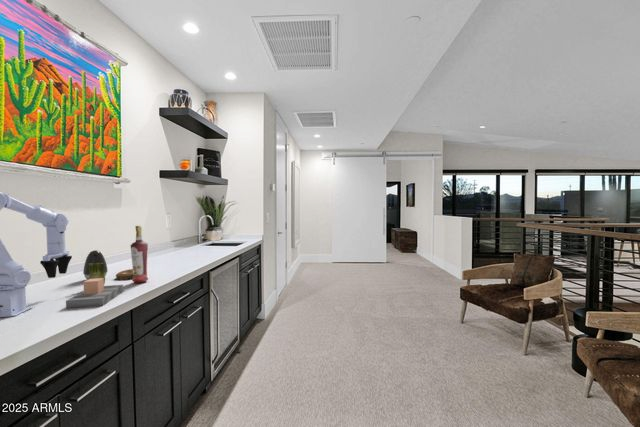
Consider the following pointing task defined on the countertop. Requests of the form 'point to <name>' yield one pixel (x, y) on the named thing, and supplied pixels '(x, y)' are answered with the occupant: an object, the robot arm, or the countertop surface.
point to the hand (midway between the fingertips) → (57, 275)
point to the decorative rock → (125, 274)
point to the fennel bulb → (98, 274)
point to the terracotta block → (93, 286)
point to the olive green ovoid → (94, 258)
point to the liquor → (139, 257)
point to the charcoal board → (94, 297)
